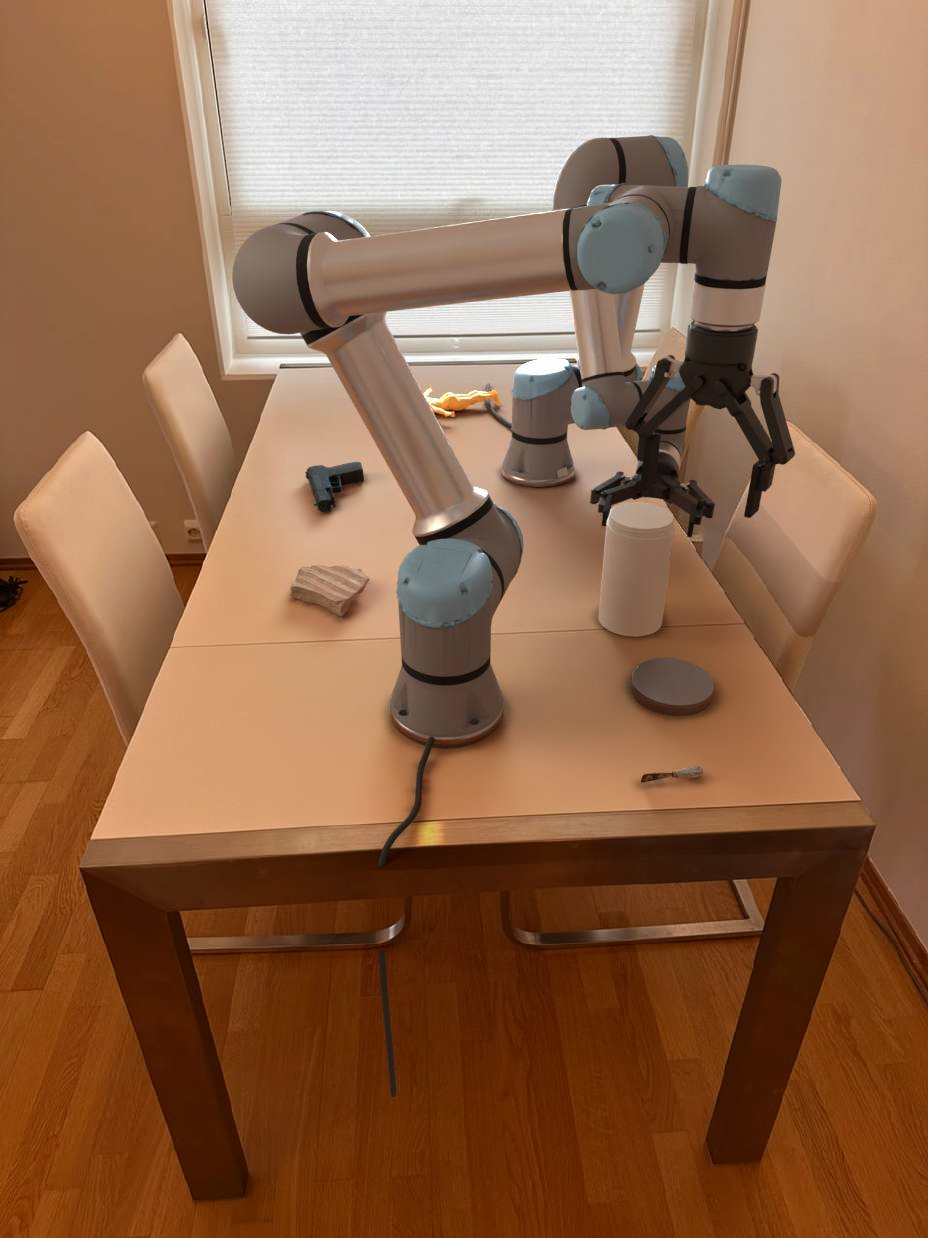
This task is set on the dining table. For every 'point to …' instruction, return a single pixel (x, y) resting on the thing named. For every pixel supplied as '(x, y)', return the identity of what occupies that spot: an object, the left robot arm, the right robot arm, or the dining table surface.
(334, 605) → the stone
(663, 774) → the putty knife
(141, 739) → the dining table surface
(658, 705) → the lid
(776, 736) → the dining table surface
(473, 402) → the human figure
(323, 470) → the handgun
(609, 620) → the jar
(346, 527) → the dining table surface
